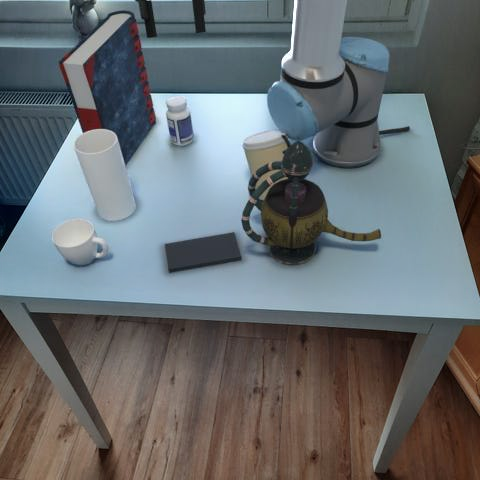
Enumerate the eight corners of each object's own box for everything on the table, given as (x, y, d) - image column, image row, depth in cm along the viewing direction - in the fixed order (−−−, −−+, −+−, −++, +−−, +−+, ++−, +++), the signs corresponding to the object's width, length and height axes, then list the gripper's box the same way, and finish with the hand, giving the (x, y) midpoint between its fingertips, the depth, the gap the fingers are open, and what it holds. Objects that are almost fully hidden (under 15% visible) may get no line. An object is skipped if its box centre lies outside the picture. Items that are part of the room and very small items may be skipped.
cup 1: (141, 198, 103) (124, 131, 90) (126, 223, 98) (105, 156, 85) (107, 193, 104) (85, 126, 91) (91, 217, 99) (65, 150, 87)
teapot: (250, 224, 96) (246, 117, 77) (375, 232, 93) (402, 122, 75) (242, 267, 89) (236, 161, 70) (377, 277, 86) (408, 168, 67)
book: (136, 115, 123) (111, 8, 103) (161, 118, 122) (140, 10, 102) (93, 173, 109) (55, 61, 89) (121, 176, 108) (87, 64, 88)
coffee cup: (302, 193, 97) (293, 133, 91) (259, 206, 97) (247, 147, 90) (288, 181, 105) (279, 126, 99) (249, 193, 105) (237, 138, 98)
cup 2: (74, 241, 95) (63, 216, 90) (120, 248, 94) (111, 222, 88) (57, 269, 91) (44, 244, 85) (105, 276, 89) (94, 251, 84)
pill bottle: (195, 133, 117) (190, 94, 109) (192, 146, 114) (186, 107, 106) (173, 133, 117) (166, 94, 110) (168, 146, 114) (161, 107, 106)
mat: (234, 235, 94) (234, 231, 94) (241, 260, 90) (241, 256, 89) (165, 247, 93) (164, 243, 92) (169, 272, 89) (168, 269, 88)
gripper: (197, -81, 103) (209, 32, 114) (95, -89, 89) (120, 40, 100) (219, -90, 98) (229, 29, 109) (115, -99, 84) (139, 38, 95)
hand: (177, 35), depth 105 cm, fingers open, 13 cm apart
